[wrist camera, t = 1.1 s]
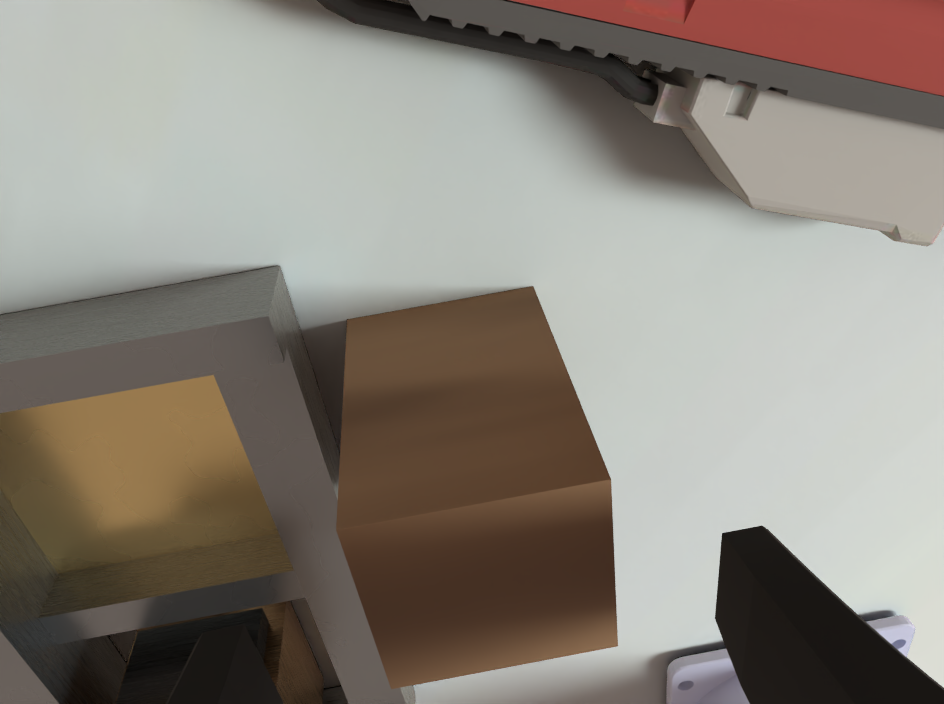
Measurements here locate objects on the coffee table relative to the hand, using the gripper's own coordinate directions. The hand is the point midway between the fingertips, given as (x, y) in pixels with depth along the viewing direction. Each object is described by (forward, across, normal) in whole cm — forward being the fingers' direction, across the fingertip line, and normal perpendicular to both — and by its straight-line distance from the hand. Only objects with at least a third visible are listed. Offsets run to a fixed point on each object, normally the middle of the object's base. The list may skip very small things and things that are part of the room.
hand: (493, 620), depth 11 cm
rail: (+6, +7, +4) cm, 11 cm away
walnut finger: (+6, 0, 0) cm, 7 cm away
